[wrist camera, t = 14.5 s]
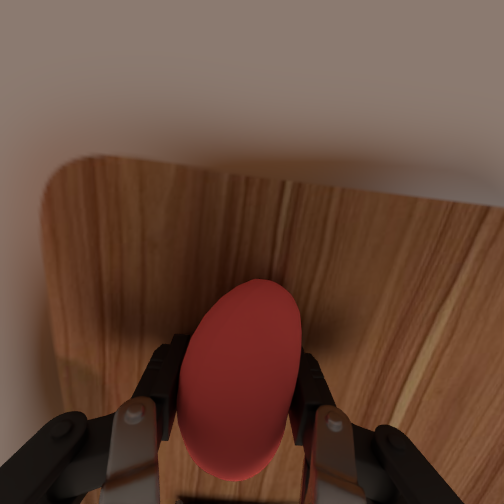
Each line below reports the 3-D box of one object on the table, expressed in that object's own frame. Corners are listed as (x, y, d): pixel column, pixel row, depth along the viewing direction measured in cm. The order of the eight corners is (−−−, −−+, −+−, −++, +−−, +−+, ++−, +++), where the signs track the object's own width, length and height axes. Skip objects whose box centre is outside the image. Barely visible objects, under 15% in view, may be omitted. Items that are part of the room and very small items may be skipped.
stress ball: (165, 363, 14) (166, 510, 10) (187, 260, 9) (212, 484, 5) (242, 353, 17) (271, 471, 12) (299, 264, 11) (387, 421, 7)
